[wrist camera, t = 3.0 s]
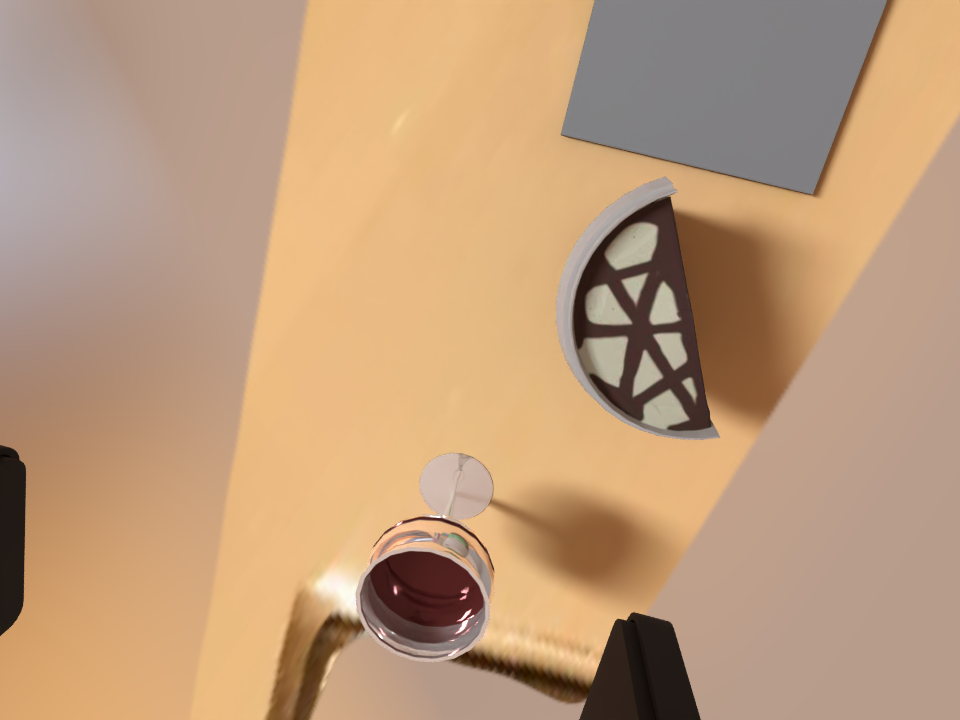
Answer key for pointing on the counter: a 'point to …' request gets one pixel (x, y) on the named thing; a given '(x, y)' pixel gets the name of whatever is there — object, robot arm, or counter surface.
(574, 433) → the counter surface
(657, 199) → the food container
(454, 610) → the wineglass
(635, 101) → the mat
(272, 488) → the counter surface
